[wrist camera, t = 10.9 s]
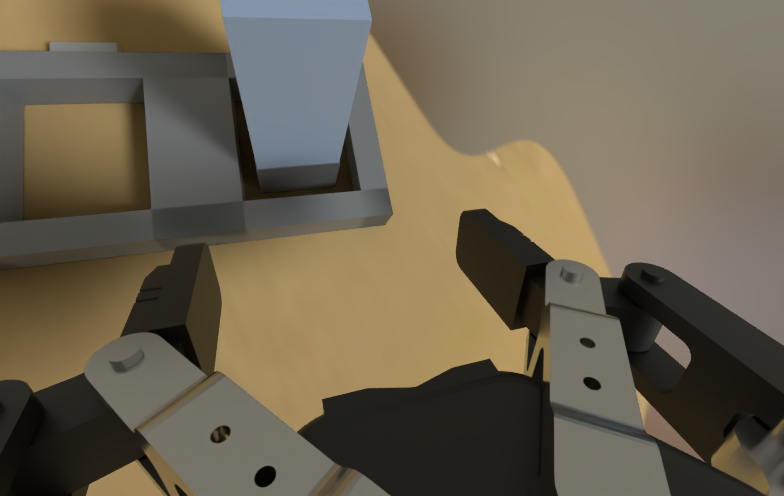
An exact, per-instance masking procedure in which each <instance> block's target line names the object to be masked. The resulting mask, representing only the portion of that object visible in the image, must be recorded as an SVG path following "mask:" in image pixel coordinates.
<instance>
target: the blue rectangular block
mask: <svg viewBox="0 0 784 496" xmlns="http://www.w3.org/2000/svg"><path fill="white" fill-rule="evenodd" d="M220 2H221V10H222V17H223V21H224V26H225V30H226V34H227V39H228V43H229V48H230V52H231V56H232V61H233V65H234V69H235V74H236V78H237V83H238V87H239V91H240V96H241V100H242V104H243V109H244V113H245V118H246V122H247V126H248V131H249V135H250V139H251V144H252V148H253V153H254V158H255V164H256V171H257V175H258V179H259V184H260V188H261V192H262V194H263V193H273V192H283V191H293V190H303V189H313V188H323V187H332V186H335V184H336V179H337V175H338V171H339V167H340V157H341V152H342V148H343V144H344V139H345V135H346V131H347V126H348V122H349V118H350V113H351V109H352V105H353V100H354V96H355V92H356V87H357V83H358V79H359V74H360V70H361V66H362V61H363V57H364V53H365V48H366V44H367V40H368V35H369V31H370V27H371V22H372V19H371V14H370V9H369V5H368V1H367V0H220Z"/></svg>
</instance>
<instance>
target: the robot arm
mask: <svg viewBox="0 0 784 496" xmlns="http://www.w3.org/2000/svg"><path fill="white" fill-rule="evenodd" d="M456 259H457V263H458V265H459V267H460V269H461V270H462V271H463V272H464V274H465V275H466V276H467V277H468V278H469V280H470V281H471V282H472V283H473V285H474V286H475V287H476V288H477V289H478V291H479V292H480V293H481V294H482V296H483V297H484V298H485V299H486V300H487V302H488V303H489V304H490V305H491V307H492V308H493V309H494V310H495V311H496V313H497V314H498V315H499V316H500V318H501V319H502V320H503V321H504V323H505V324H506V325H507V326H508V327H509V329H510V330H515V329H519V328H524V327H527V328H528V329H529V331H528V335H527V339H526V350H525V362H524V374H519V373H514V372H505V371H498V370H497V369H496V367H495V366H494V364H493V363H492V361H491V360H490V359H487V360H482V361H478V362H474V363H470V364H466V365H462V366H458V367H454V368H451V369H449V370H447V371H445V372H443V373H442V374H440V375H438V376H436V377H434V378H432V379H430V380H428V381H426V382H425V383H423V384H421V385H419V386H416V387H411V388H367V389H363V390H359V391H355V392H350V393H346V394H342V395H338V396H334V397H330V398H326V399H322V402H323V410H324V414H323V415H321V416H319V417H317V418H315V419H314V420H312V421H311V422H309V423H308V424H306V425H305V426H304V427H303V428H301V429H300V430H299V431H298V432H296V431H294V430H293V429H292V428H291V427H289V426H288V425H287V424H286V423H284V422H283V421H282V420H281V419H279V418H278V417H277V416H276V415H274V414H273V413H272V412H271V411H269V410H268V409H267V408H266V407H264V406H263V405H262V404H261V403H260V402H258V401H257V400H256V399H255V398H253V397H252V396H251V395H250V394H248V393H247V392H246V391H245V390H243V389H242V388H241V387H240V386H238V385H237V384H236V383H235V382H233V381H232V380H231V379H230V378H228V377H227V376H226V375H224V374H223V373H221V372H219V371H215V372H214V367H215V359H216V350H217V341H218V333H219V324H220V316H221V307H222V302H221V292H220V287H219V283H218V280H217V276H216V272H215V269H214V265H213V261H212V258H211V254H210V250H209V247H208V245H207V244H206V243H198V244H190V245H182V246H177V247H176V249H175V252H174V255H173V257H172V260H171V263H170V264H169V265H162V266H158V267H157V268H155V269H154V270H153V271H152V272H151V273H150V274H149V275H148V276H147V277H146V278H145V279H144V282H143V284H142V286H141V289H140V293H139V294H138V296H137V298H136V303H134V305H133V308H132V310H131V312H130V315H129V317H128V320H127V322H126V324H125V327H124V329H123V331H122V334H121V336H120V338H118V339H115V340H113V341H111V342H110V343H108V344H106V345H104V346H103V347H102V348H100V349H99V350H98V351H97V352H95V353H94V354H93V355H92V357H91V358H90V359H89V361H88V362H87V364H86V366H85V371H84V373H82V374H80V375H78V376H76V377H73V378H71V379H68V380H66V381H63V382H60V383H58V384H55V385H53V386H50V387H48V388H45V389H42V390H40V391H37V392H35V393H34V392H33V391H32V389H31V388H30V387H29V385H28V384H27V383H25V382H24V381H20V380H3V381H0V496H86V493H87V490H88V486H89V484H91V483H92V482H94V481H96V480H98V479H100V478H102V477H104V476H106V475H108V474H110V473H112V472H114V471H116V470H118V469H120V468H122V467H123V466H125V465H127V464H129V463H131V462H133V461H136V462H137V463H138V465H139V466H140V467H141V468H142V469H143V471H144V472H145V473H146V474H147V476H148V477H149V478H150V479H151V481H152V482H153V483H154V484H155V485H156V487H157V488H158V489H159V490H160V492H161V493H162V494H163V495H164V496H784V346H783V345H782V344H780V343H779V342H777V341H776V340H774V339H772V338H771V337H769V336H768V335H766V334H765V333H763V332H762V331H760V330H759V329H757V328H756V327H754V326H753V325H751V324H750V323H748V322H747V321H745V320H744V319H742V318H741V317H739V316H737V315H736V314H734V313H733V312H731V311H730V310H728V309H727V308H725V307H724V306H722V305H721V304H719V303H718V302H716V301H715V300H713V299H712V298H710V297H709V296H707V295H705V294H704V293H702V292H701V291H699V290H698V289H696V288H695V287H693V286H692V285H690V284H689V283H687V282H686V281H684V280H682V279H681V278H680V277H678V276H676V275H675V274H674V273H672V272H670V271H668V270H666V269H664V268H662V267H659V266H656V265H652V264H648V263H631V264H628V265H627V266H626V267H625V269H624V272H623V274H622V276H621V278H606V277H599V276H598V274H597V273H596V272H595V271H594V270H593V269H592V268H590V267H588V266H587V265H585V264H582V263H579V262H576V261H572V260H563V259H562V260H555V259H553V258H552V257H551V256H550V255H548V254H547V253H546V252H545V251H544V250H542V249H541V248H540V247H539V246H537V245H536V244H535V243H534V242H531V240H530V239H529V238H527V237H526V236H523V233H521V232H520V231H519V230H518V229H516V228H515V227H514V226H512V225H509V224H507V223H505V222H503V221H500V220H499V219H497V218H496V217H495V216H494V215H493V214H491V213H490V212H489V211H488V210H486V209H476V210H468V211H463V212H462V214H461V216H460V222H459V230H458V238H457V246H456ZM662 325H664V326H665V327H666V328H667V329H669V330H670V331H671V332H672V333H674V334H675V335H676V336H677V337H678V338H680V339H681V340H682V341H683V342H684V343H685V344H686V345H687V346H688V348H689V350H690V353H691V361H690V363H689V365H688V367H687V368H686V369H685V368H684V367H683V366H682V365H681V364H679V363H678V362H677V361H676V360H675V359H674V358H673V357H671V356H670V355H669V354H668V353H667V352H666V351H664V350H663V349H662V348H661V347H660V346H659V345H658V344H657V343H655V342H654V340H655V339H656V337H657V335H658V333H659V331H660V329H661V327H662ZM635 388H636V389H637V390H638V391H639V392H640V393H641V395H642V396H643V397H644V398H645V399H646V400H647V401H648V402H649V403H650V404H651V405H652V406H653V407H654V408H655V409H656V410H657V411H658V412H659V413H660V415H662V417H663V418H664V419H665V420H666V421H667V422H668V423H669V424H670V425H671V426H672V427H673V428H674V429H675V430H676V431H677V432H678V434H680V436H681V437H682V438H683V439H684V440H685V441H686V442H687V443H688V444H689V445H690V446H691V447H692V448H693V449H694V450H695V452H696V453H697V454H698V455H699V456H700V457H701V458H702V459H703V460H704V461H705V462H706V463H705V462H703V461H701V460H699V459H697V458H695V457H693V456H691V455H689V454H687V453H685V452H683V451H681V450H679V449H677V448H675V447H673V446H671V445H669V444H667V443H665V442H663V441H661V440H659V439H657V438H655V437H653V436H651V435H649V434H647V433H646V431H645V429H644V426H643V421H642V417H641V412H640V408H639V404H638V399H637V395H636V390H635Z"/></svg>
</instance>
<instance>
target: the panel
mask: <svg viewBox="0 0 784 496" xmlns="http://www.w3.org/2000/svg"><path fill="white" fill-rule="evenodd" d="M234 100H241V96H240V91H239V87H238V83H237V78H236V74H235V69H234V65H233V61H232V56H231V53H162V52H122V51H121V49H120V47H119V46H118V44H117V43H113V42H54V41H50V51H0V270H5V269H13V268H22V267H30V266H39V265H47V264H56V263H64V262H73V261H81V260H90V259H98V258H107V257H115V256H124V255H133V254H141V253H150V252H158V251H167V250H175V249H176V247H177V246H182V245H190V244H198V243H206V244H207V245H208V246H209V245H218V244H226V243H235V242H243V241H252V240H260V239H269V238H277V237H286V236H294V235H303V234H312V233H320V232H329V231H337V230H346V229H354V228H363V227H371V226H380V225H385V224H386V223H387V221H388V220H389V218H390V217H391V216H392V214H393V212H392V207H391V202H390V197H389V192H388V187H387V182H386V177H385V172H384V167H383V162H382V157H381V152H380V147H379V142H378V137H377V132H376V126H375V121H374V116H373V111H372V106H371V101H370V96H369V91H368V86H367V81H366V76H365V71H364V66H363V61H362V66H361V70H360V74H359V79H358V83H357V87H356V92H355V96H354V100H353V105H352V109H351V113H350V118H349V122H348V126H347V131H346V135H345V139H344V141H345V147H346V153H347V158H348V164H349V169H350V175H351V181H352V186H353V191H350V192H339V193H328V194H316V195H305V196H294V197H283V198H272V199H261V200H250V201H246V196H245V188H244V179H243V171H242V162H241V154H240V145H239V137H238V128H237V120H236V111H235V103H234ZM133 102H145V118H146V133H147V149H148V164H149V180H150V195H151V209H149V210H138V211H127V212H116V213H105V214H94V215H82V216H71V217H60V218H49V219H38V220H27V221H24V105H38V104H85V103H133Z"/></svg>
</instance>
